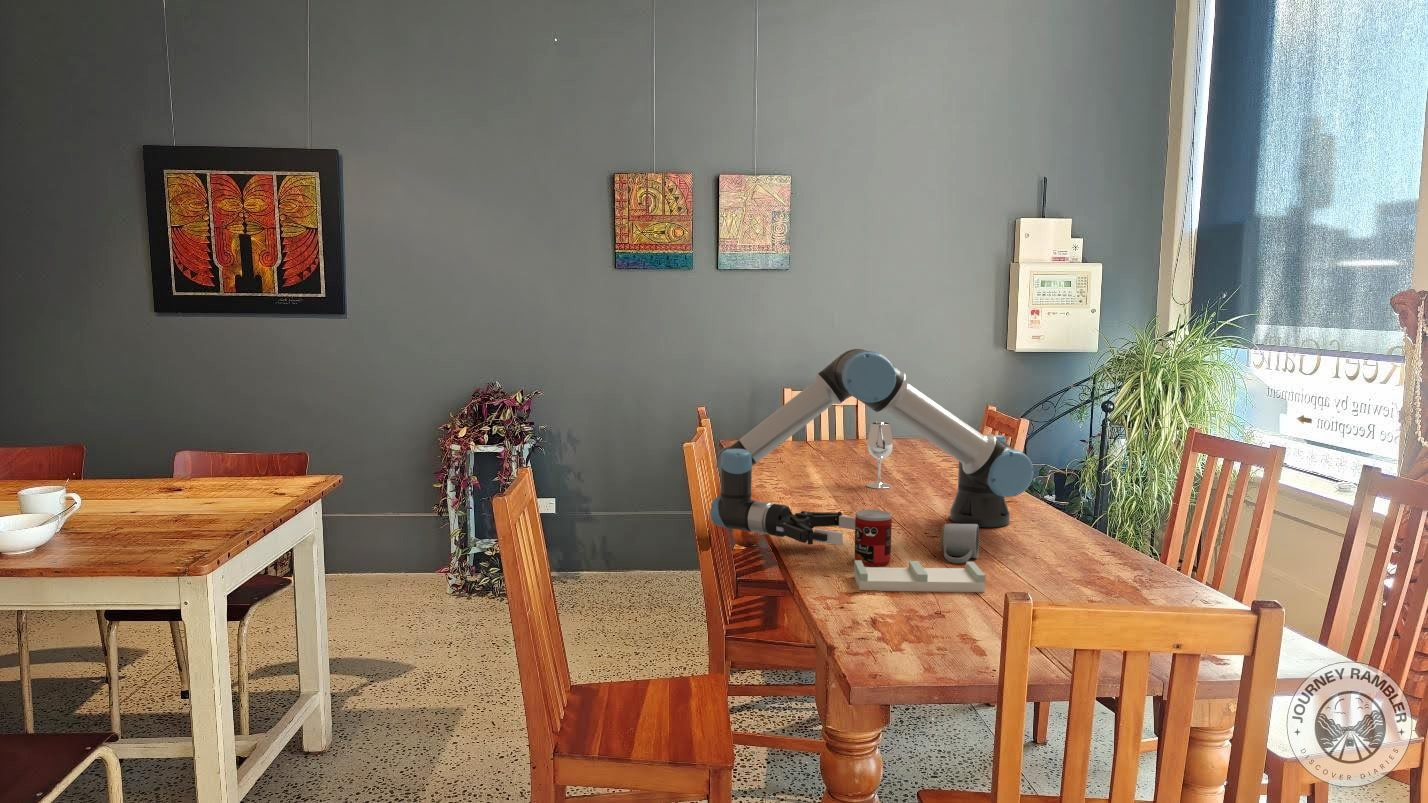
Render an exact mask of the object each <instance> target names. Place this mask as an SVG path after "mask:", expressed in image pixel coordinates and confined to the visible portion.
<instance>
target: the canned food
mask: <svg viewBox="0 0 1428 803" xmlns="http://www.w3.org/2000/svg"><path fill="white" fill-rule="evenodd" d="M892 516H893V515H892V513H890V512H889V511H886V510H879V509H862V510H858V511H857V512H856V513H855V516H854V518H855V530H854V560H862V563H863V565H864V566H865V565H866V567H884V566H887V565H888V564H890V561H891V554H892V553H891V552H892V551H891V549H892V548H891V547H892V527H893V525H892V523H893V522H892V521H893V520H892V519H893V517H892Z"/></svg>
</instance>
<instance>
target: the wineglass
mask: <svg viewBox="0 0 1428 803" xmlns="http://www.w3.org/2000/svg"><path fill="white" fill-rule="evenodd" d="M893 442H894V441H893V435H892V429H891V423H889V422H884V421H883V422H882V421H874V422H871V425H870V428H869V434H868V439H867V445H866V446H867V450H868V453H869V454H870V455H871V456H872V457H873V458H874V459H877V463H878V465H877V466H878V471H877V472H878V473H877V481H876V482H870V483H867V484H866V487H868V488H871V489H879V490H884V489H890V488H892V485H891V484H889V483H886V482H883V481H882V479H881V473H882V472H881V471H882V470H881V468H882V461H883V460H884V459H886V458H888V457H889V456H890V455H891V453H892V451H893V448H894V447H893V446H894V445H893V444H894V443H893Z"/></svg>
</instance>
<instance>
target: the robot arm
mask: <svg viewBox="0 0 1428 803" xmlns="http://www.w3.org/2000/svg"><path fill="white" fill-rule="evenodd" d="M851 397H853V398H854V399H856V400H857V401H859V402H860V403H862V404H864V405H865V406H867V407H868V408H870V409H871V410H872V411H874V412H876V413H878V414H879V413H882V412H886V413H888V414H890V416H892V417H894V418H896V419H897V420H898V421H899V422H901V423H902V424H905V426H907V427H908V428H910V429H912V430H913V431H914V432H916V433H917V434H919V435H920V436H921V437H923V438H924V439H926V440H927V441H929V442H931V443H932V445H934V446H936V447H938V448H939V449H941V450H942V451H944V452H945V453H946V454H948V455H950V456H951V457H952V458H954V459H956V460H957V461H958V478H957V482H958V483H957V492H956V495H955V497H954V500H953V502H952V505H951V508H950V511H949V512H950V514H949V516H950V517H949V519H950V520H951V521H953V523H955V524H978V526H979V528H999V527H1005V526H1008V525H1009V524H1010V517H1011V513H1010V511H1009V508H1008V504H1007V501H1006V498H1013V497H1016V496H1020V495H1021V494H1023V493H1024V492H1025V491H1026V490H1027V489H1028V488H1029V487H1030V485H1031V484H1032V482H1033V479H1034V466H1033V462H1032V461H1031V459H1030V457H1028V456H1027V455H1026V454H1025V453H1024V452H1023V451H1021V450H1018V449H1015V448H1013V447H1012V446H1010V445H1009V444H1008V443H1007V437H1006V436H1004V435H1003V434H992V433H987V434H982V433H981V432H979V431H978V430H976V429H975V428H973V426H971V425H969V424H967V423H966V422H965V421H963V420H961V419H960V418H959V417H958V416H956V415H955V414H953V413H952V412H950V411H949V410H947V409H946V408H944V407H943V406H941V404H939V403H937V402H936V401H934V400H933V399H932V398H930V397H929V396H927V395H925V394H924V393H923V392H921V391H920V390H918V389H917V388H916V387H914V386H913V385H911V384H909V383H908V381H907V376H906V373H905V372H903V371H902V370H901V369H900V368H898V367H896V366H895V365H894V364H892V362H891V361H890V360H889V359H888V358H887V357H886V356H884V355H883V354H881V353H879V352H876V351H872V350H866V349H863V348H854V349H849V350H846V351H845V352H843V353H841V354H840V355H839V356H838V357H836V358H835V359H834V360H833V361H831V362H830V363H829V364H828V365H827V366H825V367H824V368H823V369H822V370H821V371H819V373H817V374H816V377H815V380H814V381H813V382H812V383H810V384H809V385H808V386H806V387H805V388H804V389H803V390H802V391H800V392H799V393H798V394H796V395H795V396H794V397H792V398H791V399H790V400H788V401H787V402H786V403H785V404H783V405H782V406H781V407H779V408H778V409H777V410H775V411H774V412H773V413H772V414H770V415H769V416H768V417H767V418H765V419H763V421H761V422H760V423H758V424H757V425H756V426H755V427H754V428H753V429H751V430H750V431H748V432H747V433H746V434H744V435H743V436H742V437H741V438H739V439H738V440H737V441H735V442H734V443H733V444H731V445H730V446H725V447H723V448H722V449H721V450H720V451H719V452H718V454H717V456H716V468H717V470H718V472H719V475H720V495H719V496H716V497H715V498H714V499H713V501H711V502H712V503H711V508H710V511H709V514H710V519H711V521H712V523H713V524H714V525H716V526H718V527H723V528H726V529H729V530H739V531H743V532H750V533H757V534H758V535H759V536H762V535H770V536H774V537H778V538H779V537H780V538H783V537H788V538H789V539H793V540H795V541H798V542H800V543H803V544H805V543H807V545H813V544H814V542H817V543H823V544H830V545H836V546H843V542H844V541H843V539H844V538H843V537H844V536H843V535H844V533H843V532H841V531H840V532H839V531H833V530H828V529H820V528H819V527H821V528H822V527H838V528H841V529H847V530H854V531H855V516H854V517H853V516H848V515H847V516H846V515H843V513H842V511H837V512H829V511H827V512H821V511H820V512H819V511H805V510H802V511H800V512H795V514H793V512H792V510H791V508H790V507H789V506H788V505H786V504H779V503H772V502H767V501H766V502H765V501H760V500H759V501H757V500H752V476H753V475H752V474H753V473H752V469H753V468H752V467H753V466H755V465H756V464H757V463H759V462H760V461H761V460H762V459H764V457H766V456H767V455H769V454H770V453H771V452H773V451H774V450H775V449H777V448H778V447H779V446H780V445H782V444H783V443H784V442H785V441H787V440H789V439H790V437H792V436H794V435H795V434H796V433H797V432H798V431H800V430H801V429H803V428H804V427H805V426H806V425H807V424H809V423H811V422H812V421H814V420H815V418H817V417H819V416H820V415H821V414H823V413H824V412H825V411H826V410H827V409H829V408H830V407H831V406H832V405H840V404H842V403H843V402H844V401H845V400H848V399H849V398H851ZM816 527H817V528H816Z"/></svg>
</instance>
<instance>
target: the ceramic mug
mask: <svg viewBox="0 0 1428 803" xmlns="http://www.w3.org/2000/svg"><path fill="white" fill-rule="evenodd" d="M940 530H941V531H940V536H939V537H940V539H939V540H940V541H939V542H940V544H939V545H940V551H941V553H942V554H943V556H944V558H945V560H946V561H947V562H949V563H951V562H952V564H957V563H958V565H959V564H964V563H966V562H969V561H970V559H978V557H979V552H980V527H979V526H978V524H959V523H945V524H943V525H942V527H941V529H940ZM952 556H953V557H952Z"/></svg>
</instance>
